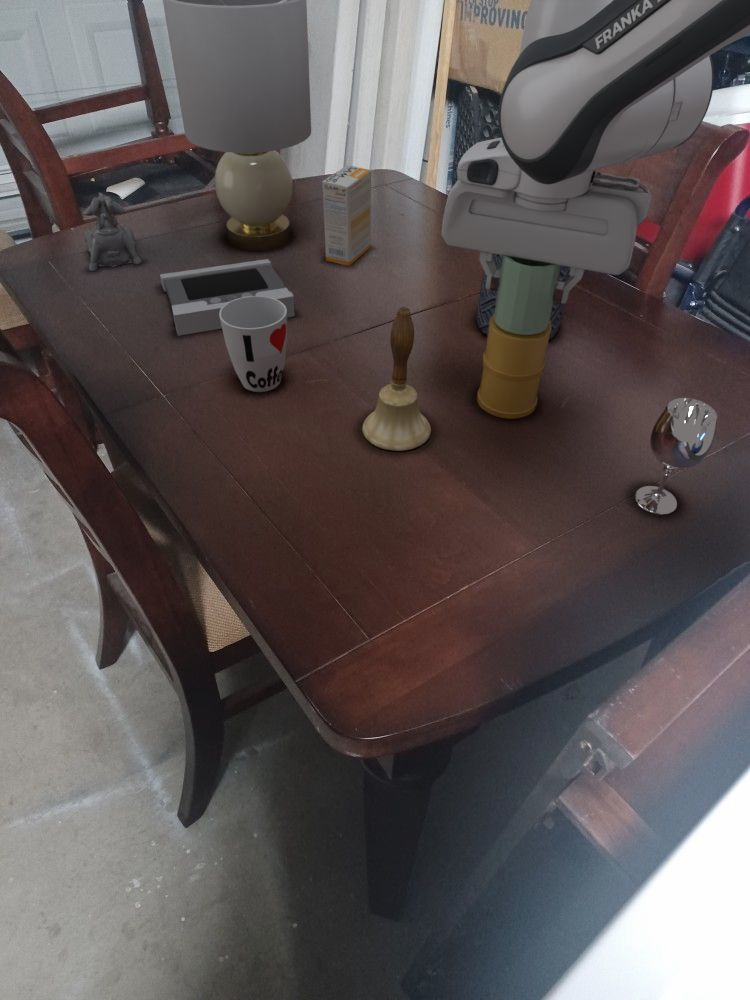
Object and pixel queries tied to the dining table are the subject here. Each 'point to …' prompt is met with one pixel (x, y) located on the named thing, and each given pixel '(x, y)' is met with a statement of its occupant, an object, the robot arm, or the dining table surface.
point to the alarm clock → (220, 292)
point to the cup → (256, 340)
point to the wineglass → (677, 447)
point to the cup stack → (511, 371)
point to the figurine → (109, 235)
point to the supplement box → (347, 214)
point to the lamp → (245, 103)
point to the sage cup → (525, 295)
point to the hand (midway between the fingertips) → (525, 294)
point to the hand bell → (398, 398)
